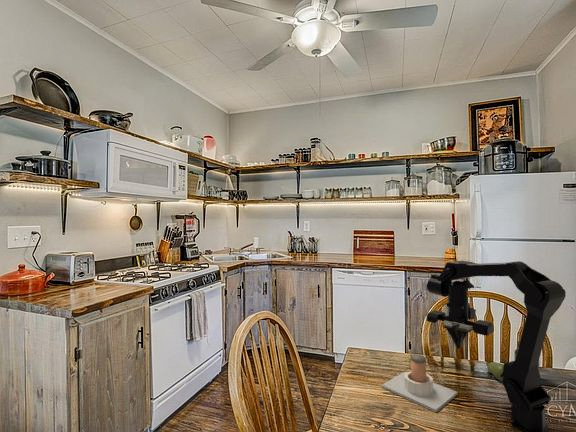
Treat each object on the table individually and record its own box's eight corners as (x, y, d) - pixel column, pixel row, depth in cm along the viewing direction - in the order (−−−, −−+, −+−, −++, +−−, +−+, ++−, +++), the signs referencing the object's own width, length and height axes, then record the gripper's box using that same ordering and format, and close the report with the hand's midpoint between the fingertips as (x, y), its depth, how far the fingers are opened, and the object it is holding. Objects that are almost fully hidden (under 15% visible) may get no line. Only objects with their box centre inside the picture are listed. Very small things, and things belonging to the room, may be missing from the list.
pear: (497, 366, 107) (482, 358, 117) (499, 383, 106) (484, 374, 116) (515, 367, 106) (498, 358, 116) (517, 384, 105) (500, 374, 115)
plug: (429, 388, 103) (428, 357, 103) (422, 393, 100) (421, 361, 100) (416, 383, 106) (415, 353, 106) (408, 388, 103) (408, 356, 104)
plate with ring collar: (457, 394, 101) (457, 380, 101) (436, 412, 92) (435, 397, 92) (404, 373, 115) (404, 361, 115) (381, 387, 106) (381, 374, 106)
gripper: (499, 301, 102) (500, 350, 102) (440, 291, 116) (441, 334, 116) (486, 307, 95) (487, 360, 95) (425, 296, 109) (426, 342, 109)
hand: (458, 348), depth 104 cm, fingers closed
